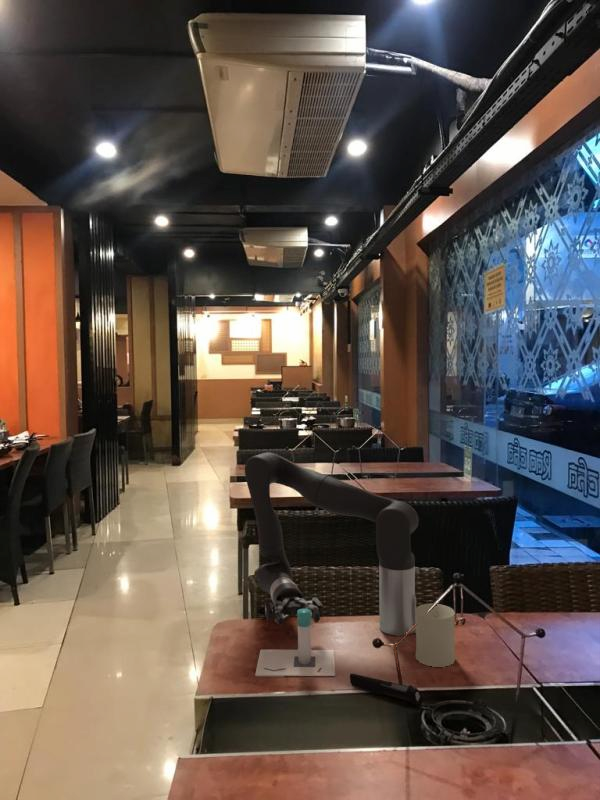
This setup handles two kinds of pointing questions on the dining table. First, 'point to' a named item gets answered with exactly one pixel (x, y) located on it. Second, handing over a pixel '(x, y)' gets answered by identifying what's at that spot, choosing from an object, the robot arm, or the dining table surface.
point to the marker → (304, 636)
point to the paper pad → (295, 663)
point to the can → (435, 635)
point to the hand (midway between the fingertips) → (299, 620)
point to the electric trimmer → (386, 688)
